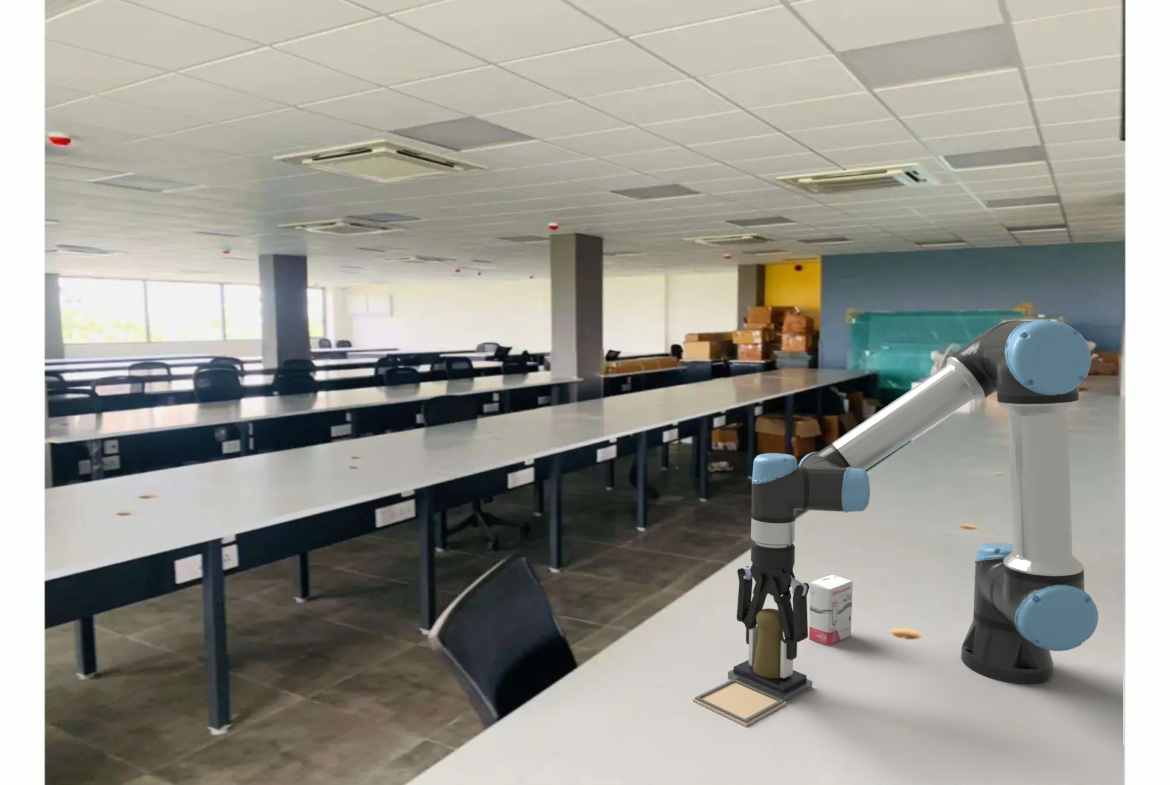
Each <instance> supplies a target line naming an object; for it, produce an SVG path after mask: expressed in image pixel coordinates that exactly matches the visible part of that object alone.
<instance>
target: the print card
mask: <svg viewBox="0 0 1170 785" xmlns="http://www.w3.org/2000/svg"><path fill="white" fill-rule="evenodd" d="M692 702H693V703H696V704H698V705H699V706H700V705H701V706H702V707H704V708H706V709H708V710H710V711H712V712H715V713H717V714H719V715H720V716H723V717H725V718H727V719H728V720H731V721H733V722H735V723H738V725H739V724H740V725H742V726H744V727H748V726H749V725H752V724H753V723H755V722H757V721H759V720H760V719H762V718H764V717H767V715H770V714H771V713H773V712H775V711H776V710H779V709H780V708H782V707H784V706H786V704H787V702H784V700H782V699H780V698H777V697H775V696H773V695H770V694H768V693H766V692H763V691H761V690H759V689H756V688H754V687H752V686H749V685H747V684H745V683H742V682H740V681H738V680H735V679H732V680H731V679H729V681H727V682H724V683H722V684H720V685H718V686H715V687H713V688H711V689H710V690H707V691H705V692H704V693H701V694H699V695H697V696H695V697H694V698H693V699H692Z"/></svg>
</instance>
